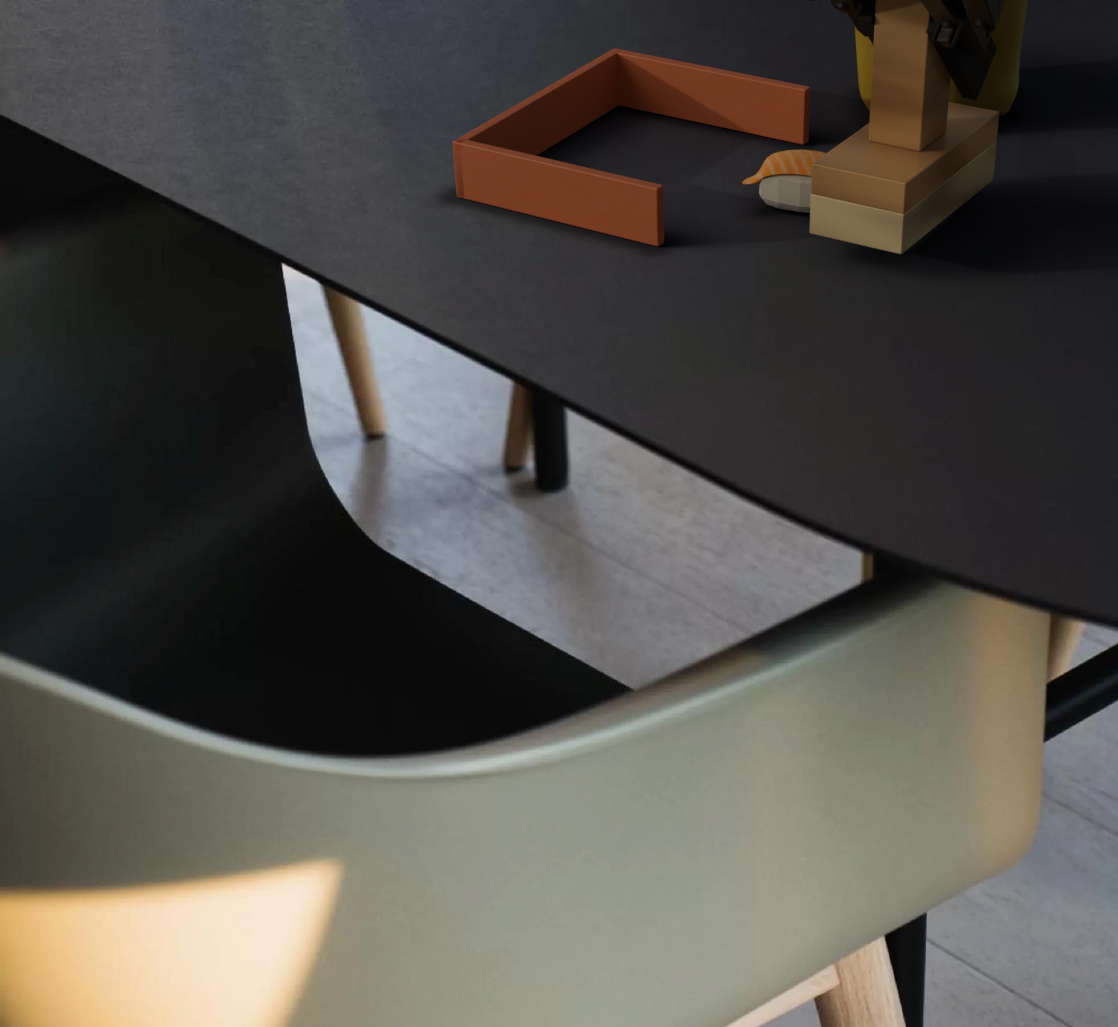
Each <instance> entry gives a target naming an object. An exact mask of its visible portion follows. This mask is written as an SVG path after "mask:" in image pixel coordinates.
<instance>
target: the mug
mask: <svg viewBox="0 0 1118 1027" xmlns="http://www.w3.org/2000/svg"><path fill="white" fill-rule="evenodd" d="M1028 2H1029V0H1006V2H1005V4H1004V7H1003V9H1002V12H1001V14H1000V17H999V19H998V22H997V24H996V27H995V29H994V30H993V32H992V34H991V36H992V38H993V40H994V42H995V44H996V46H997V50H996V53H995V55H994V58H993V60H992V63H991V65H990V68H989V70H988V73H987V75H986V78H985V80H984V83H983V85H982V88H981V90H980V93H979V95H978V98H977V100H971V99H966V98H962V96H961V95H960V93H959V91H958V89H957V87H956V85H955V84H954V82H953V80H952V78H951V77H950V90H949V102H951V103H957V104H962V105H967V106H972V107H978V108H983V109H988V110H994V111H999V117H1002V116H1005V115H1007V114H1008V112H1010V109H1011V107H1012V105H1013V103H1014V101H1015V100H1016V97H1017V94H1018V90H1019V89H1018V88H1019V85H1020V58H1021V48H1022V40H1023V35H1024V34H1023V33H1024V28H1025V23H1026V22H1025V21H1026V17H1027V16H1026V15H1027V9H1028ZM854 33H855V34H854V36H855V50H856V52H855V53H856V65H857V66H856V68H857V80H858V81H857V82H858V89H859V94H860V98H861V100H862V102H863V104H864V106H865V107H866V109H867V110H868V111H869V112H870V105H871V86H872V66H873V47H874V46H873V44H872V43H871V41H870V39H869V38H868V37H867V36H863V35H862V34H861V33H860V32H859V31H858V30H857V29H856V27H855V26H854Z"/></svg>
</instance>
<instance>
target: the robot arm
mask: <svg viewBox="0 0 1118 1027" xmlns="http://www.w3.org/2000/svg"><path fill="white" fill-rule="evenodd" d="M809 2H815V0H809ZM829 2H830V3H831V5H832V6H833V8H834V9H835V10H838V11H839V12H842V13H845V14H847V16H848V18H849V19H850V20H851V22H852V24H853V26H854V28H855V27H856V29H857V30H858V31H859V32H860V33H861V34H862V35H863V36H867V37H868V38H869V39H870V41H871V43H872V44H873V46H874V27H875V8H876V0H829ZM920 2H921V3H922V4H923V6H924V7H925V8H926V9H927V11H928V12H929V13H930V15H931V16H932V18H931V21H930V23H929V25H928V27H927V30H926V33H927V34H928V36H929V37H930V39H931V41H932V43H933V44H934V46H935V48H936V50H937V52H938V53H939V55H940V57H941V59H942V61H943V62H944V64H945V66H946V68H947V70H948V72H949V73H950V75H951V78H952V80H953V82H954V84H955V85H956V87H957V89H958V91H959V93H960V95H961V96H962V98H966V99H971V100H977V98H978V95H979V93H980V90H981V88H982V85H983V83H984V80H985V78H986V75H987V73H988V70H989V68H990V65H991V63H992V60H993V58H994V55H995V53H996V50H997V46H996V44H995V42H994V40H993V38H992V36H991V34H992V32H993V30H994V29H995V27H996V24H997V22H998V19H999V17H1000V14H1001V12H1002V9H1003V7H1004V4H1005V2H1006V0H920Z"/></svg>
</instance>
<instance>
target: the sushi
mask: <svg viewBox="0 0 1118 1027" xmlns="http://www.w3.org/2000/svg"><path fill="white" fill-rule="evenodd" d="M826 153H827V152H825V151H820V150H814V149H813V150H812V149H787V150H783V151H776V152H774V153H772V154H769V156H767V157H766V158H765V160H764V161H763V163H762V164H761V167H760V168H759V169H758V171H757V173H755V174H754V175H752V176H750V177H747V178H745V179H744V180H743V181H742V182H741V183H742V185H748V186H750V185H755V184H758V185H759V187H758V189H759V190H758V194H759V197H760V198H761V199H762V200H763V202H764V203H765V204H766V205H768V206H770V207H773V208H776V209H778V210H782V211H783V210H784V211H785V210H786V211H793V212H797V213H798V212H799V213H807V214H808V213H809V214H810V205H811V194H812V193H811V178H812V164H813V163H814V162H815V161H817V160H818V159H819V158H821V157H822V156H824V155H825V154H826Z"/></svg>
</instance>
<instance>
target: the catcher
mask: <svg viewBox="0 0 1118 1027" xmlns="http://www.w3.org/2000/svg"><path fill="white" fill-rule="evenodd" d="M617 107H625V108H629V109H633V110H637V111H642V112H648V113H652V114H657V115H662V116H666V117H671V118H676V119H680V120H685V121H690V122H695V123H699V124H705V125H709V126H714V127H718V128H723V129H727V130H733V131H736V132H737V131H738V132H742V133H746V134H751V135H755V136H760V137H765V138H770V139H774V140H779V141H784V142H789V143H793V144H797V145H802V146H804V145H805V144H807V143H808V142H809V138H810V114H811V113H810V111H811V110H810V109H811V86H808V85H804V84H803V85H802V84H799V83H798V84H797V83H794V82H793V83H792V82H787V81H783V80H777V79H773V78H767V77H762V76H757V75H751V74H747V73H742V72H737V71H732V70H727V69H722V68H718V67H717V68H716V67H713V66H707V65H702V64H698V63H697V64H696V63H692V62H686V61H682V60H676V59H671V58H666V57H661V56H656V55H651V54H647V53H641V52H637V51H630V50H626V49H621V48H616V47H614V48H612V49H610V50H608V51H607V52H605V53H603V54H601V55H600V56H598V57H596V58H595V59H593V60H591V61H590V62H588V63H586V64H585V65H583V66H581V67H579V68H577V69H576V70H574V71H572V72H571V73H569V74H567V75H565V76H563V77H561V78H560V79H558V80H556V81H554V82H553V83H551V84H550V85H548V86H546V87H545V88H543V89H541V90H539V91H537V92H535V93H534V94H532V95H531V96H528V97H527V98H525V99H524V100H522V101H520V102H518V103H517V104H515V105H513V106H511V107H510V108H508V109H507V110H504V111H503V112H501V113H499V114H498V115H496V116H494V117H492V118H491V119H489V120H487V121H486V122H484V123H483V124H482V123H481V125H480V124H479V126H477V127H476V128H474V129H472V130H470V131H468V132H467V133H465V134H463V135H462V136H460V137H458V138H456V139H455V140H452V153H453V167H454V177H455V178H454V179H455V191H456V197H457V198H461V199H463V200H468V201H473V202H476V203H480V204H485V205H488V206H491V207H492V206H493V207H496V208H501V209H505V210H509V211H513V212H516V213H517V212H518V213H521V214H525V215H529V216H532V217H537V218H542V219H545V220H549V221H553V222H557V223H561V224H565V225H569V226H574V227H577V228H582V229H585V230H590V231H594V232H597V233H601V234H606V235H610V236H614V237H618V238H621V239H626V240H630V241H634V242H637V243H642V244H646V245H649V246H654V247H660V246H661V245H663V244H664V243H665V206H664V205H665V202H664V198H665V197H664V193H665V192H664V191H665V190H664V185H663V184H660V183H656V182H651V181H647V180H646V181H645V180H643V179H639V178H634V177H630V176H626V175H622V174H616V173H613V172H608V171H603V170H599V169H596V168H590V167H586V166H581V165H579V164H574V163H569V162H566V161H560V160H556V159H552V158H549V157H548V158H547V157H543V156H540V154H542V153H544V152H546V151H547V150H549V149H550V148H552V147H554V146H555V145H557V144H558V143H559V142H562V141H563V140H564V139H566V138H568V137H570V136H571V135H572V134H575V133H576V132H577V131H579V130H581V129H583V128H584V127H586V126H588V125H589V124H591V123H592V122H594V121H596V120H597V119H599V118H600V117H602V116H604V115H605V114H607V113H610V111H612V110H614V109H616V108H617ZM538 155H539V156H538Z"/></svg>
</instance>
